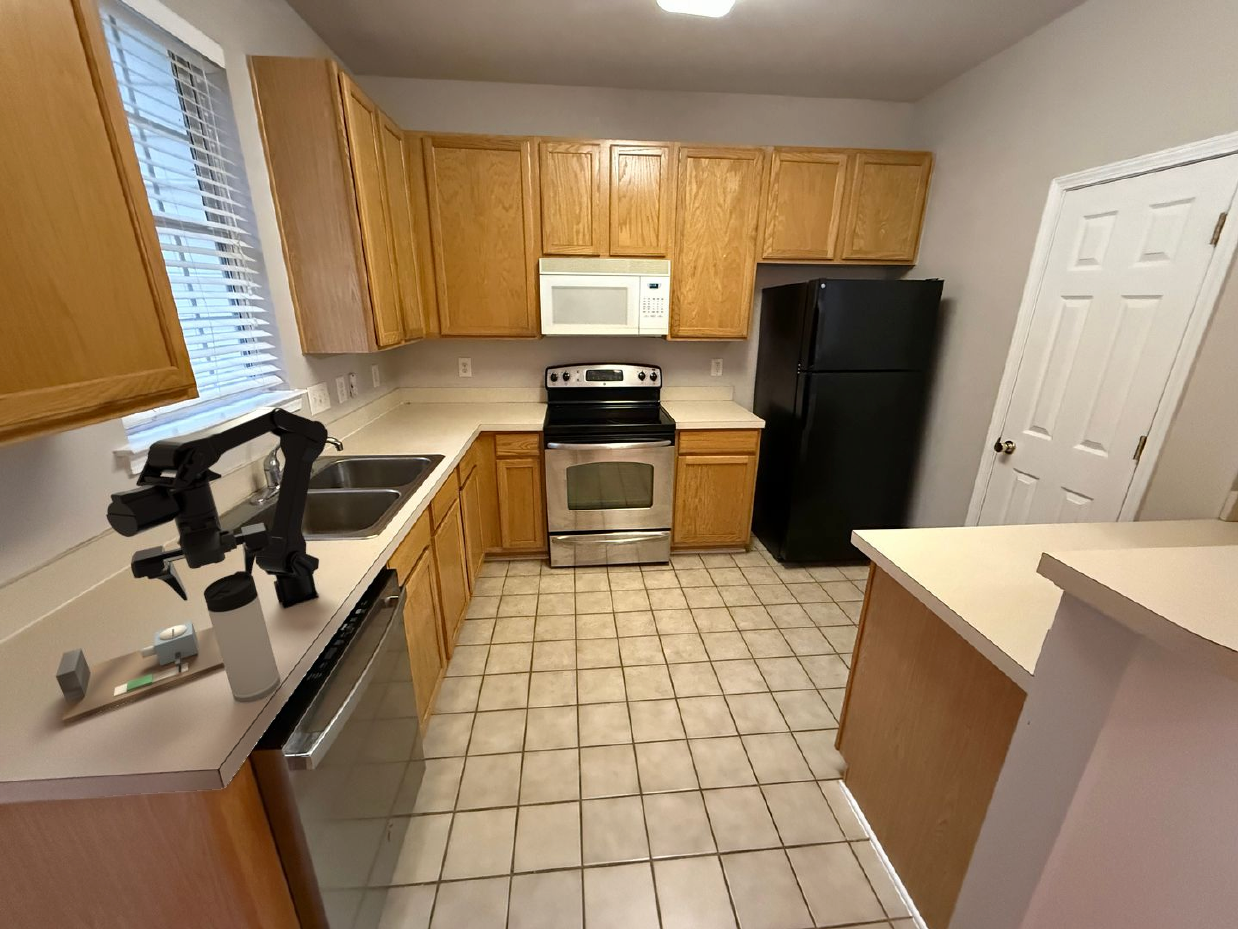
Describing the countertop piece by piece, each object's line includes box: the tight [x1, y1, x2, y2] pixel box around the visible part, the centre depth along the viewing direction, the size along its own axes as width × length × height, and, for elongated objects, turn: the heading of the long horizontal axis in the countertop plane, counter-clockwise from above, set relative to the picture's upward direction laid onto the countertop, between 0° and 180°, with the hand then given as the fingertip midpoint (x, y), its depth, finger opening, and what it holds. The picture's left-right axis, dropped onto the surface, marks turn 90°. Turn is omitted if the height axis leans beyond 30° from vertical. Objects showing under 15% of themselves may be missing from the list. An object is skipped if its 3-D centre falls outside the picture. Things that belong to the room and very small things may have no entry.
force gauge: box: [140, 620, 198, 667], centre depth 85 cm, size 7×9×4 cm
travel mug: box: [203, 570, 281, 704], centre depth 78 cm, size 6×7×20 cm
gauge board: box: [55, 626, 225, 726], centre depth 85 cm, size 22×14×6 cm, turn 131°
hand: (218, 590), depth 89 cm, fingers open, 9 cm apart
